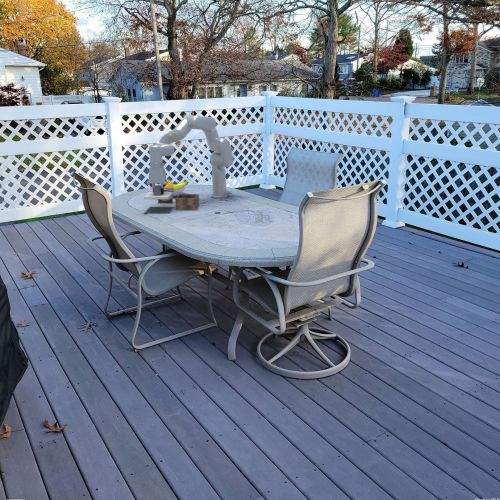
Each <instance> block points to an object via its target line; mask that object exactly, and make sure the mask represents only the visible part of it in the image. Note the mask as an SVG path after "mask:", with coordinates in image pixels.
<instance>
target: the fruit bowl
mask: <svg viewBox="0 0 500 500" xmlns="http://www.w3.org/2000/svg"><path fill="white" fill-rule="evenodd" d="M166 179H167V181H168V182H169V184H167V185H166V186H165V187H164V188H172V189H173V191H174V193H173V198H174V197H175V198H176V197H177V196H178V195H179V194H184V191H185V190H186V185H187V183H188V182H189V180H188V179H187V180H186V181H182V182H180V183H176V184H175V183H173V182H172V181H171V180H170V179H168V178H166ZM165 183H166V182H165ZM165 183H163V184H165ZM156 185H157V184H155V186H156ZM147 189H148V191H149V192H153V188H152V187H151V186H149V187H148V188H147Z"/></svg>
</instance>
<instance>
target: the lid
mask: <svg viewBox="0 0 500 500" xmlns="http://www.w3.org/2000/svg"><path fill="white" fill-rule="evenodd" d="M155 185H156V186H155V187H154V188H153V190H154V193H153V192H150V191H149V192H147V194H146V195H144V196H143V199H144V200H158V199H168V198H169V197H170V196H171V195H172V194H173V192H164V193H163V194H162V195H161V184H155Z"/></svg>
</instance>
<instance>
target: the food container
mask: <svg viewBox="0 0 500 500" xmlns="http://www.w3.org/2000/svg"><path fill="white" fill-rule="evenodd" d="M164 192H173V193H174V191H173V189H172V188H164ZM173 199H174V197H173V194H172V195H171V196H170V197H169V198H168V199H157V202H158V204H173V203H174V202H173Z"/></svg>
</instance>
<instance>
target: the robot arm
mask: <svg viewBox="0 0 500 500" xmlns="http://www.w3.org/2000/svg"><path fill="white" fill-rule="evenodd" d="M192 130H200V131H202V132H203V133H204V135H205V140H206V141H207V145H208V149H209V150H210V151H212V153H211V155H210V156H209V161H210V166H211V178H212V193H211V194H210V197H211V198H213V199H223V198H224V199H225V198H227V197H229V195H232V194H233V191H231V190H227V185H226V184H227V183H226V181H227V179H226V177H227V176H226V175H227V173H226V169H225V168H227V167H232V166H233V164H234V155H233V151H232V147H231V143H230V141H229V140H228V139H227V138H225V137H220V135H219V133H218V132H219V131H218V130H217V121H216V119H215V118H214V117H212V116H201V115H193V114H192V115H191V114H189V115H188V114H187V115H185V116H183V118H182V119H181V120H180V121H179V122H178V124H177V125H176V126H175V127H174V128H173V129H172V130H170V131H168V132H167V133H165V134H163V135H162V136H161V137H159V139H158V140H157V141H156V143H154V144H152V145H151V144H150V145H149V146H148V152H149V153H148V154H149V169H148V180H147V181H146V184H147V185H148V186H149V187H152V188H154V187H155V185H161V195H162V194H163V193H164V187H165V186H166V185H167V184H169V182H168V181H167V179H168V178H167V175H166V170H165V169H166V168H165V167H164V166H166V163H164V161H163V157H170V156H172V155H173V154H174V153H175V147H174V146H173V145H172V144H173V143H177V142H180V141H183V140H184V139H185V138H186V137H187V136H188V135H189V133H190V132H191V131H192ZM165 182H166V183H165ZM163 183H165V184H163ZM153 193H154V190H153Z"/></svg>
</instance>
